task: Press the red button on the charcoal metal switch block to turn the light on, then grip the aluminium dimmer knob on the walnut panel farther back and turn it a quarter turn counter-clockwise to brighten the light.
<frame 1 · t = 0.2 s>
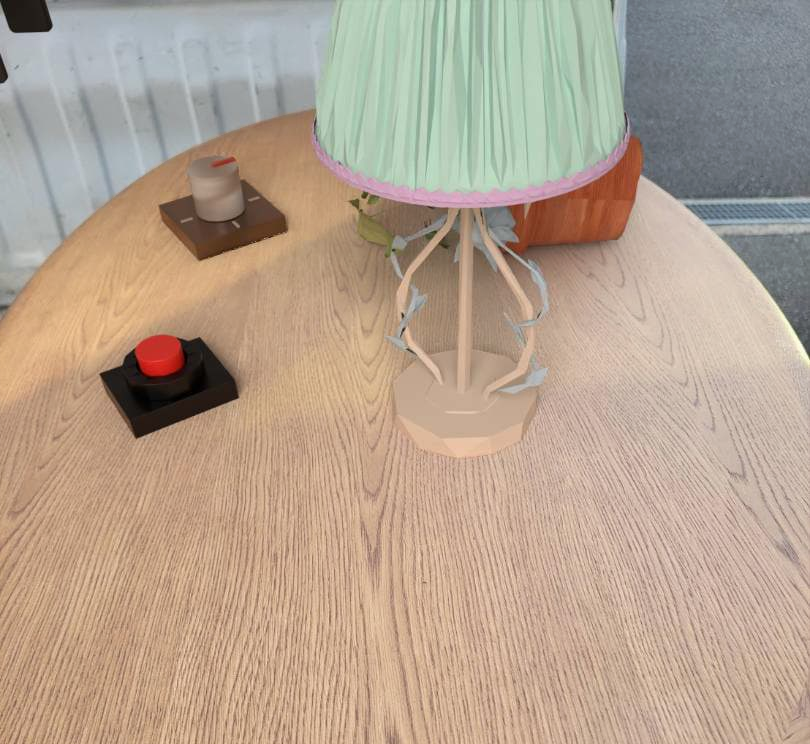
hand: (10, 55, 62), 28 cm above the table, tool pointing down, fingers open, 9 cm apart
potted plant: (463, 248, 97), on the table
light button: (160, 355, 77), point 4 cm above the table, slide at 0.1 cm
table lamp: (462, 411, 78), on the table
switch block: (171, 395, 81), on the table
dimmer knob: (216, 187, 98), point 5 cm above the table, hinge at 0.0°
dimmer panel: (224, 226, 102), on the table
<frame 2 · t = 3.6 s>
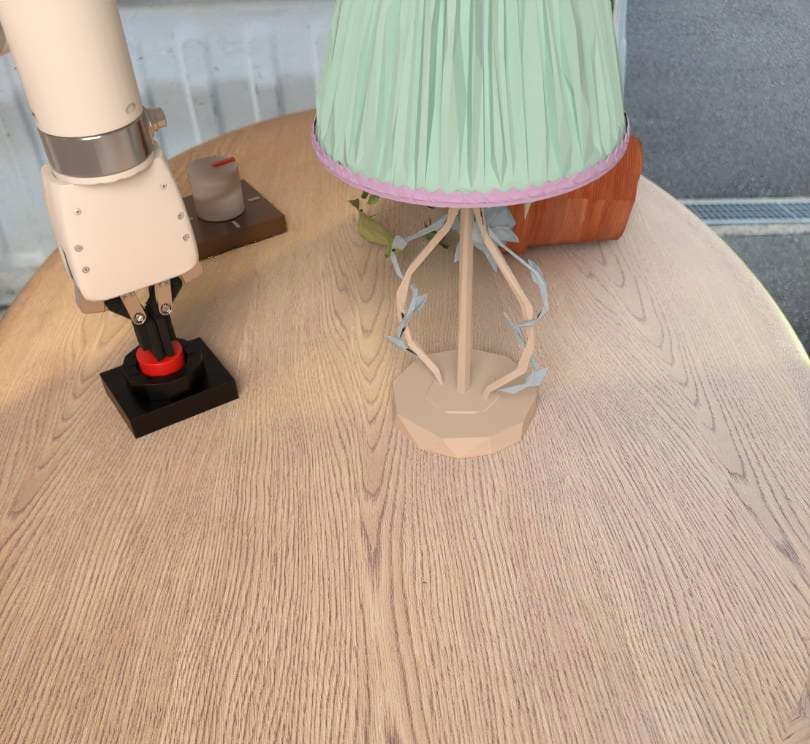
hand: (160, 350, 77), 5 cm above the table, tool pointing down, fingers closed
light button: (161, 358, 78), point 4 cm above the table, slide at -0.2 cm, touching gripper
everything else where it was.
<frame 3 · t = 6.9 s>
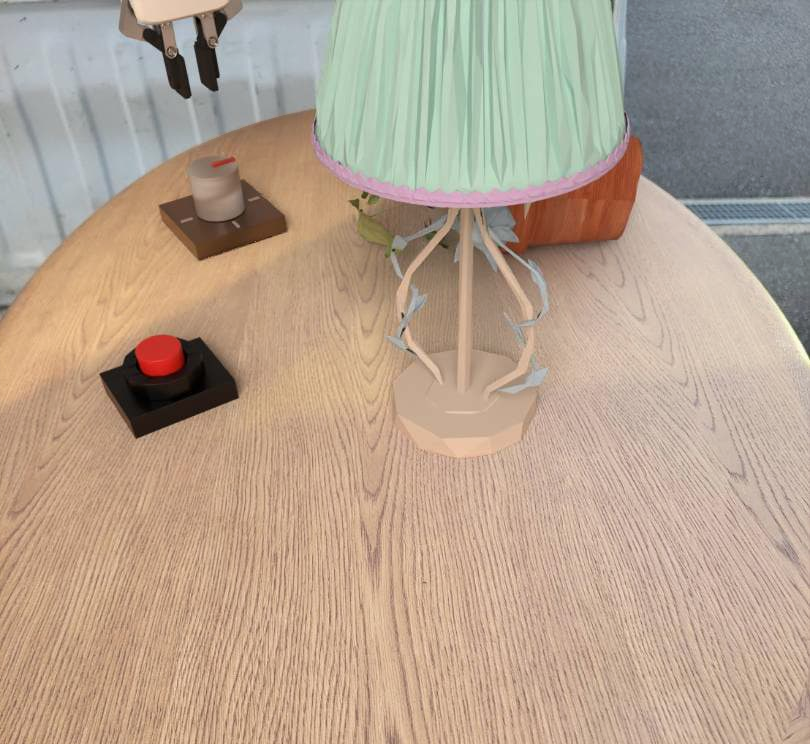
hand: (196, 89, 90), 15 cm above the table, tool pointing down, fingers closed
light button: (160, 355, 77), point 4 cm above the table, slide at 0.1 cm
everything else where it was.
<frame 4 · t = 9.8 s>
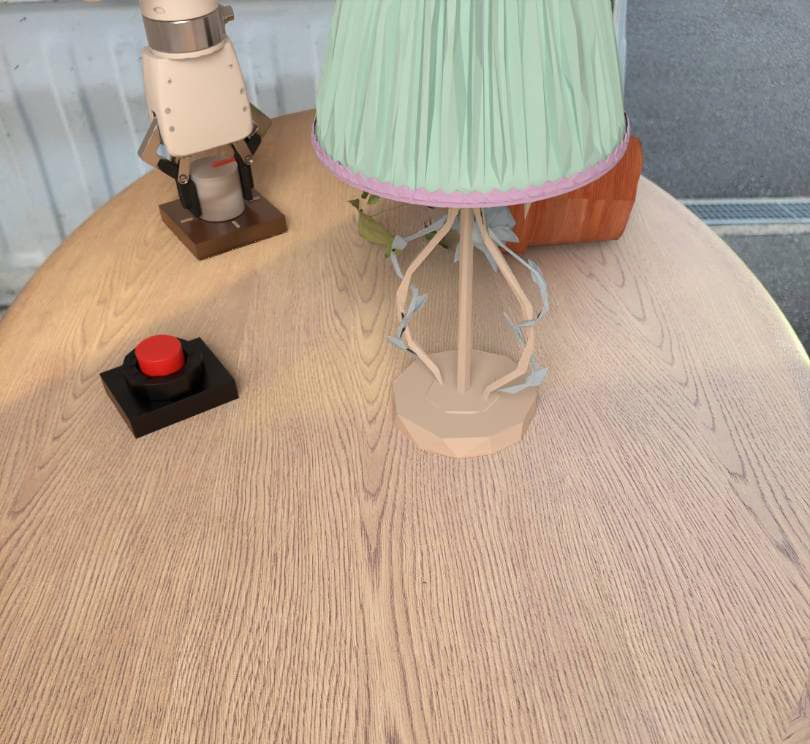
hand: (219, 202, 99), 3 cm above the table, tool pointing down, fingers closed on dimmer knob, 5 cm apart
dimmer knob: (216, 187, 98), point 5 cm above the table, hinge at 0.0°, touching gripper
everything else where it was.
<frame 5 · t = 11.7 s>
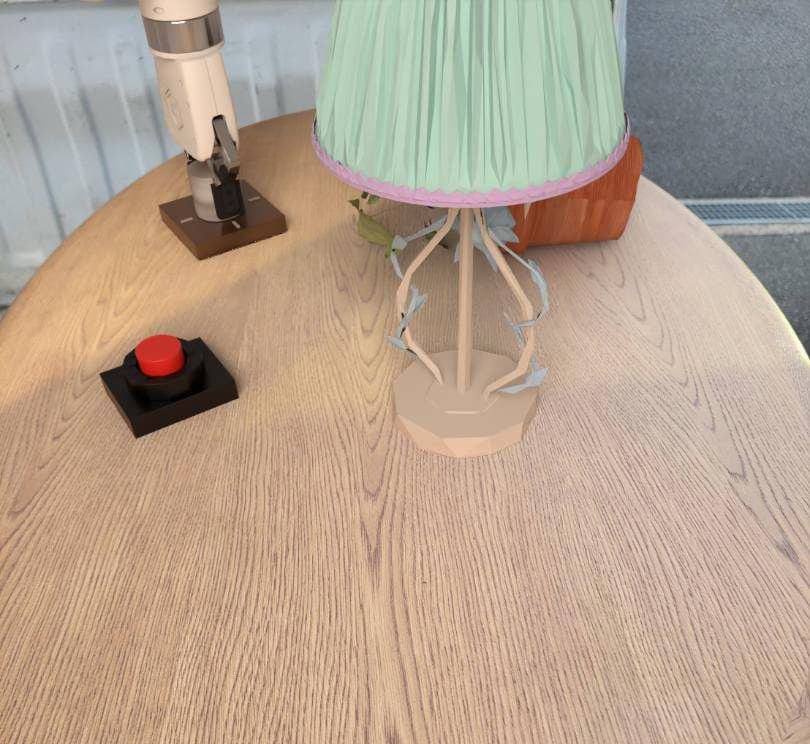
hand: (219, 202, 99), 3 cm above the table, tool pointing down, fingers closed on dimmer knob, 5 cm apart
dimmer knob: (216, 187, 98), point 5 cm above the table, hinge at 90.6°, touching gripper
everything else where it was.
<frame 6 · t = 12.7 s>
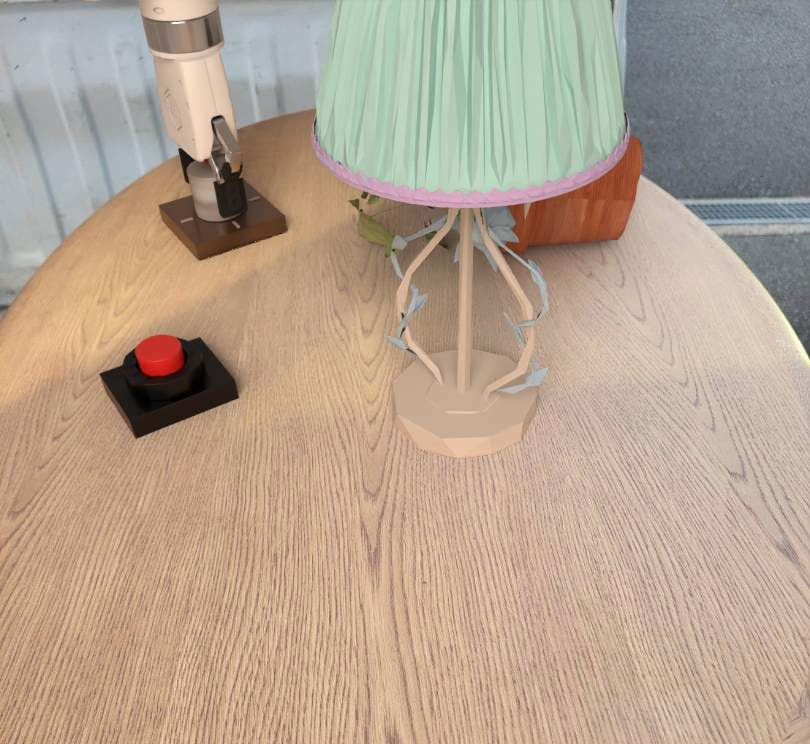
hand: (216, 196, 99), 4 cm above the table, tool pointing down, fingers open, 9 cm apart
dimmer knob: (216, 187, 98), point 5 cm above the table, hinge at 89.9°
everything else where it was.
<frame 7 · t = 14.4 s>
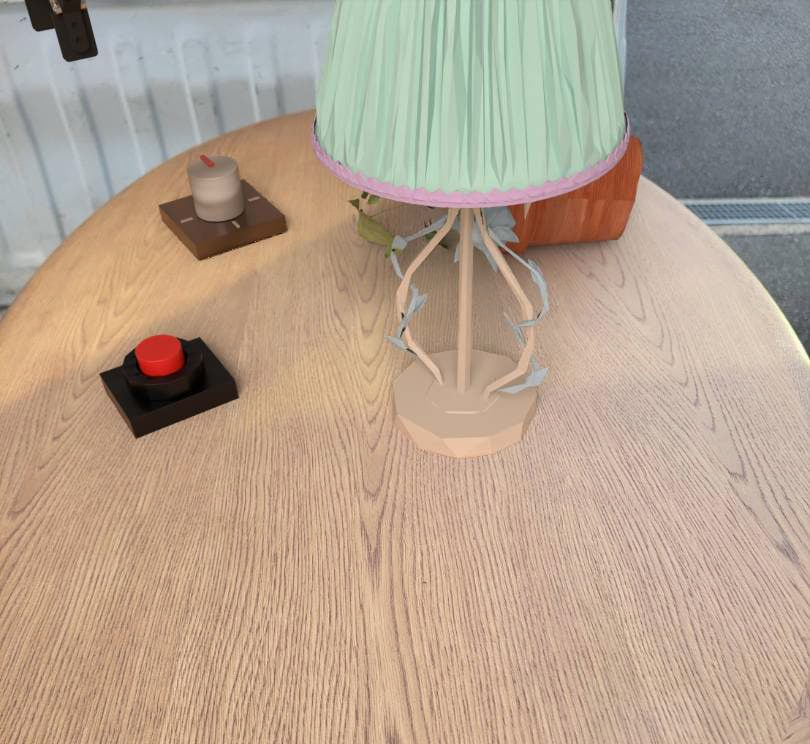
hand: (65, 42, 84), 21 cm above the table, tool pointing down, fingers open, 9 cm apart
nothing on the table moved.
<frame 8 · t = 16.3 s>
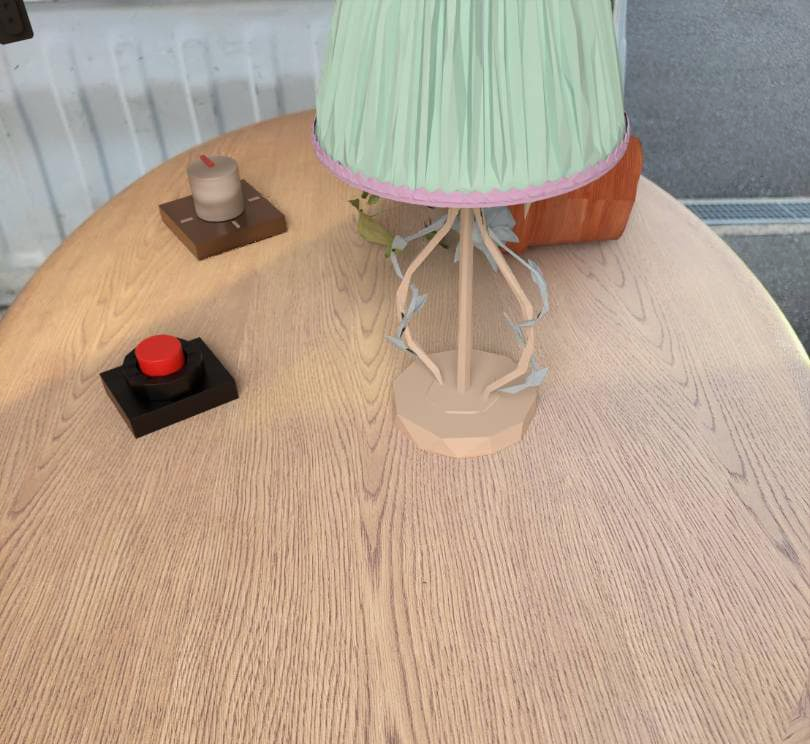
hand: (2, 25, 81), 23 cm above the table, tool pointing down, fingers open, 9 cm apart
nothing on the table moved.
at the end: light button pushed in 1.1 cm at the most during the clip, back to where it started at the end; light button slide at 0.1 cm; dimmer knob at +90° (first picture: +0°) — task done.
